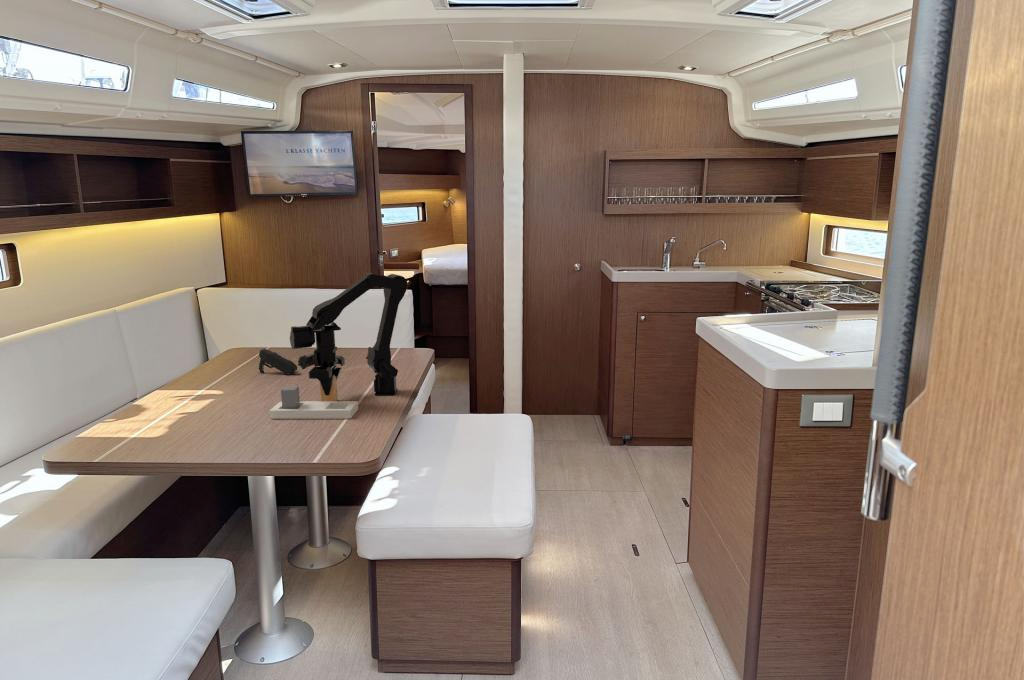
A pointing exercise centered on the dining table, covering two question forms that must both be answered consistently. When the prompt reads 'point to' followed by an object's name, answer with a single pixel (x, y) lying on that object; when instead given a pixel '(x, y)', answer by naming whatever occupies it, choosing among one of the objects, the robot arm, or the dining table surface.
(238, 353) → the dining table surface
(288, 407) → the gray plug
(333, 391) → the orange plug
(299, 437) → the dining table surface
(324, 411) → the white slotted frame
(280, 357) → the gun
